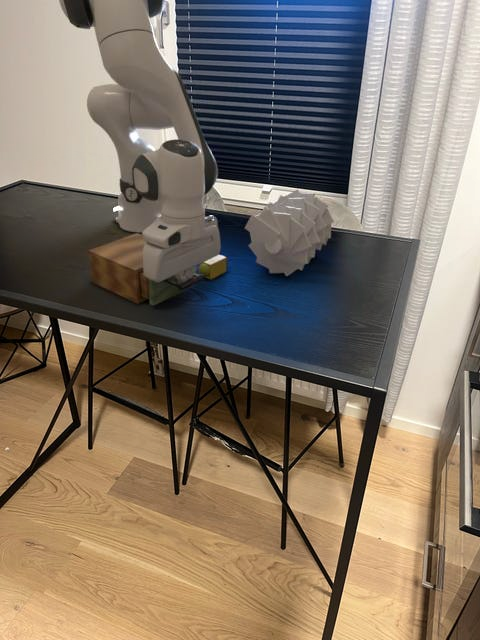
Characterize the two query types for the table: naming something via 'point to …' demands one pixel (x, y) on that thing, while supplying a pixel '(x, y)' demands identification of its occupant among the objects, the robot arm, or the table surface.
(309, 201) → the spiral staircase
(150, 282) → the drawer
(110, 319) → the table surface
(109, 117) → the robot arm
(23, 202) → the table surface
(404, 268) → the table surface
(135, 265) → the cabinet
